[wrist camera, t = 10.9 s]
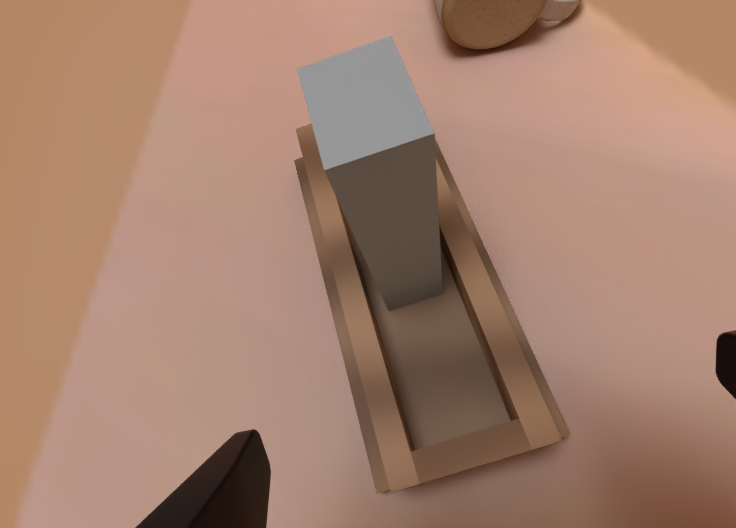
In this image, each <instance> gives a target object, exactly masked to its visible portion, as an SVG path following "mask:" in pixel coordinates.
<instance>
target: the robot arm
mask: <svg viewBox="0 0 736 528" xmlns="http://www.w3.org/2000/svg"><path fill="white" fill-rule="evenodd" d="M716 375H717V377H718V380H719V381H720V383H721V384H722V385H723V386H724V387H725V389H726V390H727V391H728V392H729V393H730V394H731V395H732V396H733V397H734V398H735V399H736V330H735V331H730V332H725V333H722V334H721V335H719V337H718V338H717V344H716ZM270 477H271V470H270V463H269V460H268V457H267V454H266V451H265V448H264V445H263V443H262V440H261V437H260V434H259V433H258V431H256V430H255V429H252V430H247V431H242V432H238V433H235V434H234V435H233V436H232V437H231V438H230V439H229V440H227V441H226V442H225V443H224V444H223V445H222V446H221V447H220V448H219V449H218V450H217V451H216V452H215V453H214V454H213V455H212V456H211V457H210V458H208V459H207V460H206V461H205V462H204V463H203V464H202V465H201V466H200V467H199V468H198V469H197V470H196V471H195V472H194V473H193V474H192V475H190V476H189V477H188V478H187V479H186V480H185V481H184V482H183V483H182V484H181V485H180V486H179V487H178V488H177V489H176V490H175V491H174V492H173V493H171V494H170V495H169V496H168V497H167V498H166V499H165V500H164V501H163V502H162V503H161V504H160V505H159V506H158V507H157V508H156V509H155V510H153V511H152V512H151V513H150V514H149V515H148V516H147V517H146V518H145V519H144V520H143V521H142V522H141V523H140V524H139V525H138V526H137V527H136V528H266V524H267V512H268V501H269V489H270Z"/></svg>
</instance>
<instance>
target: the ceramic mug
mask: <svg viewBox="0 0 736 528" xmlns="http://www.w3.org/2000/svg"><path fill="white" fill-rule="evenodd" d="M580 1H581V0H434V2H435V7H436V11H437V15H438V18H439V20H440V22H441V24H442V26H443V28H444V29H445V31H446V33H447V34H448V36H449V37H450V38H451V39H452V40H453V41H455V42H456V43H457V44H459V45H461V46H463V47H467V48H471V49H479V50H480V49H489V48H494V47H498V46H501V45H503V44H506V43H508V42H510V41H512V40H513V39H515V38H517V37H518V36H520V35H521V34H522V33H524V32H525V31H526V30H527V29H528V28H529V27H530V26H531V25H532V24H533V23H534V22H535V21H536V19H537V18H539V19H541V20H546V21H557V20H559V21H561V20H564V19H566V18H568V17H569V16H570V15H571V14H572V13H573V11H574V10H575V8H576V7H577V6H578V4H579V3H580Z"/></svg>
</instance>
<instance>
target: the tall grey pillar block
mask: <svg viewBox="0 0 736 528" xmlns="http://www.w3.org/2000/svg"><path fill="white" fill-rule="evenodd" d="M297 71H298V75H299V78H300V82H301V86H302V90H303V93H304V97H305V101H306V105H307V108H308V112H309V116H310V119H311V123H312V127H313V131H314V134H315V138H316V142H317V145H318V149H319V153H320V157H321V160H322V164H323V168H324V171H325V173H326V175H327V178H328V180H329V182H330V184H331V186H332V188H333V191H334V193H335V195H336V197H337V199H338V202H339V204H340V206H341V208H342V210H343V213H344V215H345V217H346V219H347V221H348V224H349V226H350V228H351V230H352V232H353V235H354V237H355V239H356V241H357V243H358V245H359V248H360V250H361V252H362V254H363V256H364V259H365V261H366V263H367V265H368V267H369V270H370V272H371V274H372V276H373V278H374V281H375V283H376V285H377V287H378V289H379V291H380V294H381V296H382V298H383V300H384V302H385V305H386V307H387V309H388V311H392V310H395V309H398V308H401V307H404V306H408V305H411V304H414V303H417V302H420V301H423V300H427V299H430V298H433V297H436V296H439V295H443V290H442V271H441V251H440V232H439V212H438V193H437V174H436V154H435V135H434V131H433V129H432V127H431V124H430V122H429V120H428V118H427V115H426V113H425V111H424V109H423V106H422V104H421V102H420V99H419V97H418V95H417V93H416V90H415V88H414V86H413V84H412V81H411V79H410V77H409V75H408V72H407V70H406V68H405V65H404V63H403V61H402V59H401V56H400V54H399V52H398V50H397V47H396V45H395V43H394V41H393V38H392V36H389V37H386V38H384V39H381V40H378V41H375V42H372V43H369V44H367V45H364V46H361V47H358V48H355V49H352V50H349V51H347V52H344V53H341V54H338V55H335V56H332V57H329V58H327V59H324V60H321V61H318V62H315V63H312V64H310V65H307V66H304V67H301V68H298V69H297Z"/></svg>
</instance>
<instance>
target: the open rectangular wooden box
mask: <svg viewBox="0 0 736 528" xmlns="http://www.w3.org/2000/svg"><path fill="white" fill-rule="evenodd" d="M296 132H297V136H298V140H299V144H300V148H301V151H302V155H303V157H302V158H300V159H297V160H294V162H295V166H296V170H297V174H298V178H299V182H300V186H301V190H302V194H303V198H304V202H305V206H306V210H307V214H308V218H309V222H310V226H311V230H312V234H313V238H314V242H315V246H316V250H317V254H318V258H319V262H320V266H321V270H322V274H323V278H324V282H325V286H326V290H327V294H328V298H329V302H330V306H331V310H332V314H333V319H334V323H335V327H336V331H337V335H338V339H339V343H340V347H341V351H342V355H343V359H344V363H345V367H346V371H347V375H348V379H349V383H350V387H351V391H352V395H353V399H354V403H355V407H356V411H357V415H358V419H359V423H360V427H361V431H362V435H363V439H364V443H365V447H366V451H367V455H368V459H369V463H370V467H371V471H372V476H373V480H374V484H375V488H376V492H377V493H381V492H384V491H387V490H390V491H391V493H392V492H395V491H398V490H401V489H405V488H408V487H411V486H415V485H418V484H421V483H425V482H428V481H431V480H434V479H438V478H441V477H444V476H448V475H451V474H454V473H457V472H461V471H464V470H467V469H471V468H474V467H477V466H481V465H484V464H487V463H490V462H494V461H497V460H500V459H504V458H507V457H510V456H514V455H517V454H520V453H523V452H527V451H530V450H533V449H537V448H540V447H543V446H546V445H550V444H553V443H556V442H560V441H562V439H561V438H562V437H565V436H568V435H570V433H569V431H568V428H567V426H566V424H565V422H564V420H563V417H562V415H561V413H560V411H559V409H558V406H557V404H556V402H555V400H554V398H553V396H552V393H551V391H550V389H549V387H548V385H547V382H546V380H545V378H544V376H543V374H542V372H541V369H540V367H539V365H538V363H537V361H536V358H535V356H534V354H533V352H532V350H531V347H530V345H529V343H528V341H527V339H526V337H525V334H524V332H523V330H522V328H521V326H520V323H519V321H518V319H517V317H516V315H515V312H514V310H513V308H512V306H511V304H510V302H509V299H508V297H507V295H506V293H505V291H504V288H503V286H502V284H501V282H500V280H499V278H498V275H497V273H496V271H495V269H494V267H493V264H492V262H491V260H490V258H489V256H488V253H487V251H486V249H485V247H484V245H483V243H482V240H481V238H480V236H479V234H478V232H477V229H476V227H475V225H474V223H473V221H472V219H471V216H470V214H469V212H468V210H467V208H466V205H465V203H464V201H463V199H462V197H461V194H460V192H459V190H458V188H457V186H456V184H455V181H454V179H453V177H452V175H451V173H450V170H449V168H448V166H447V164H446V162H445V160H444V157H443V155H442V153H441V151H440V149H439V146H438V144H437V142H436V140H435V154H436V174H437V193H438V212H439V232H440V251H441V271H442V290H443V295H439V296H436V297H433V298H430V299H427V300H423V301H420V302H417V303H414V304H411V305H408V306H404V307H401V308H398V309H395V310H392V311H388V309H387V307H386V305H385V302H384V300H383V298H382V296H381V294H380V291H379V289H378V287H377V285H376V283H375V281H374V278H373V276H372V274H371V272H370V270H369V267H368V265H367V263H366V261H365V259H364V256H363V254H362V252H361V250H360V248H359V245H358V243H357V241H356V239H355V237H354V235H353V232H352V230H351V228H350V226H349V224H348V221H347V219H346V217H345V215H344V213H343V210H342V208H341V206H340V204H339V202H338V199H337V197H336V195H335V193H334V191H333V188H332V186H331V184H330V182H329V180H328V178H327V175H326V173H325V171H324V168H323V164H322V160H321V157H320V153H319V149H318V145H317V142H316V138H315V134H314V131H313V127H312V124H309V125H306V126H303V127H301V128H298V129H296Z"/></svg>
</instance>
